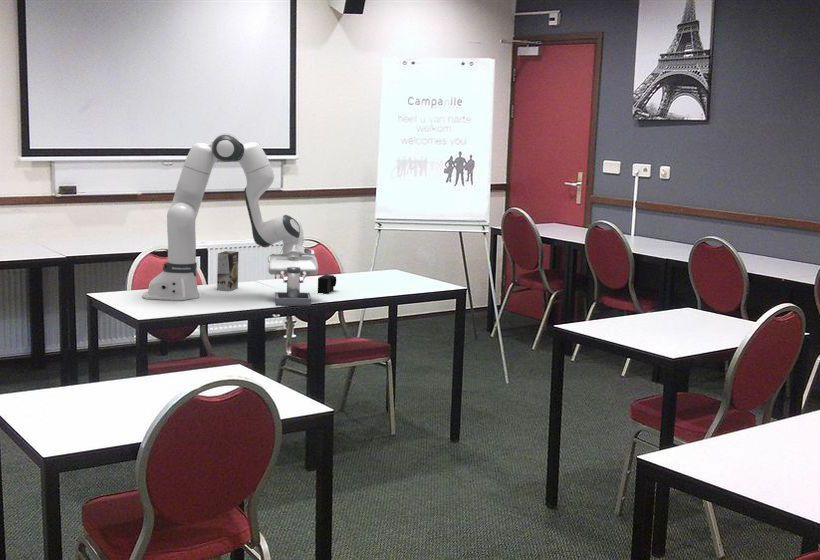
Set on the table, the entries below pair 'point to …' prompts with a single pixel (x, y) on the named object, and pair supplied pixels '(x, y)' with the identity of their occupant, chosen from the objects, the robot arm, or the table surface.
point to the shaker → (293, 282)
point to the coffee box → (227, 270)
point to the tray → (292, 299)
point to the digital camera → (326, 283)
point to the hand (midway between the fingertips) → (293, 282)
